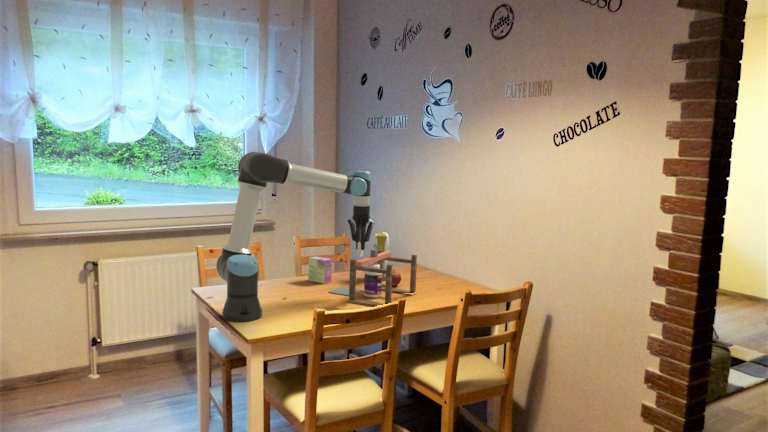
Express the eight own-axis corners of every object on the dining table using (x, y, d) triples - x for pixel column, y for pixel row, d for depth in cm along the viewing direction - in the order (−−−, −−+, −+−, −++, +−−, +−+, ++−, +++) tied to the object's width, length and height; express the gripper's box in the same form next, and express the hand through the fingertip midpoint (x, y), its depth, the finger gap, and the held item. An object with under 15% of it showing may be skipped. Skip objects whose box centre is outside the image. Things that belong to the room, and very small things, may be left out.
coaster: (351, 296, 262) (351, 295, 262) (328, 292, 267) (328, 291, 267) (363, 290, 272) (363, 289, 272) (341, 287, 278) (341, 286, 278)
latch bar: (361, 266, 248) (361, 255, 247) (355, 266, 249) (355, 254, 249) (391, 256, 274) (391, 245, 273) (385, 255, 275) (385, 245, 274)
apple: (392, 282, 290) (393, 267, 289) (404, 285, 284) (404, 269, 283) (381, 285, 284) (381, 269, 283) (392, 288, 279) (393, 272, 278)
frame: (388, 309, 244) (389, 265, 241) (347, 302, 252) (348, 260, 250) (416, 293, 270) (417, 254, 268) (379, 287, 279) (380, 250, 277)
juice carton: (387, 280, 294) (389, 234, 291) (372, 280, 294) (373, 233, 291) (387, 276, 303) (389, 231, 300) (372, 276, 303) (374, 230, 300)
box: (331, 282, 287) (332, 258, 286) (324, 284, 283) (324, 260, 281) (315, 278, 293) (315, 255, 291) (308, 280, 288) (308, 257, 287)
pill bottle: (379, 299, 259) (380, 267, 257) (362, 297, 260) (363, 266, 259) (383, 294, 267) (384, 263, 265) (366, 293, 268) (367, 262, 266)
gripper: (378, 205, 262) (376, 256, 265) (353, 203, 268) (351, 253, 271) (370, 207, 255) (368, 259, 258) (344, 204, 261) (343, 256, 264)
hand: (360, 256), depth 264 cm, fingers closed
